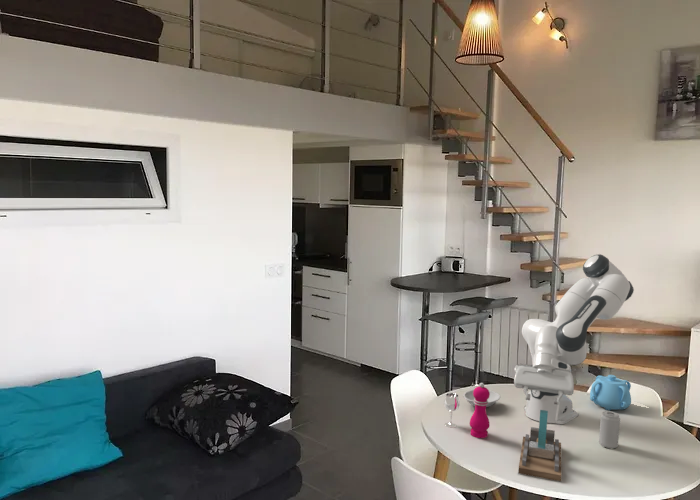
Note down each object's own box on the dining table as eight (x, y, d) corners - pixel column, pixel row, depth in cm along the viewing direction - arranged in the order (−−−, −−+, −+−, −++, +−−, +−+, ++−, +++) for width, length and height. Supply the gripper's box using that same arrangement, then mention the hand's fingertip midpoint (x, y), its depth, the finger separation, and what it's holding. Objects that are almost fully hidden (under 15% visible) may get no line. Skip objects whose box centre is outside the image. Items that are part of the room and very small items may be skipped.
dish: (485, 417, 235) (486, 405, 234) (455, 407, 245) (455, 395, 244) (506, 406, 248) (507, 395, 247) (477, 397, 257) (478, 386, 257)
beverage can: (616, 443, 214) (619, 412, 213) (618, 450, 208) (621, 418, 207) (598, 440, 216) (600, 409, 215) (599, 447, 210) (601, 415, 209)
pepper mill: (489, 440, 213) (492, 387, 211) (469, 437, 215) (472, 385, 213) (488, 432, 220) (491, 380, 218) (469, 430, 222) (471, 378, 220)
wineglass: (454, 429, 222) (456, 398, 220) (440, 425, 225) (442, 395, 224) (460, 424, 227) (462, 394, 225) (446, 421, 230) (448, 391, 228)
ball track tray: (522, 441, 213) (524, 423, 212) (560, 448, 208) (562, 429, 208) (518, 473, 188) (519, 452, 188) (561, 481, 184) (562, 460, 183)
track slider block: (528, 449, 201) (531, 407, 200) (553, 453, 199) (556, 410, 197) (528, 455, 197) (531, 412, 195) (553, 459, 194) (556, 416, 192)
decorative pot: (634, 406, 254) (637, 375, 252) (625, 416, 241) (627, 384, 240) (595, 396, 264) (598, 367, 262) (584, 406, 251) (586, 375, 250)
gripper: (515, 358, 213) (510, 392, 205) (575, 366, 206) (573, 402, 198) (515, 367, 218) (511, 401, 210) (574, 374, 210) (572, 410, 202)
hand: (541, 401), depth 204 cm, fingers open, 8 cm apart
